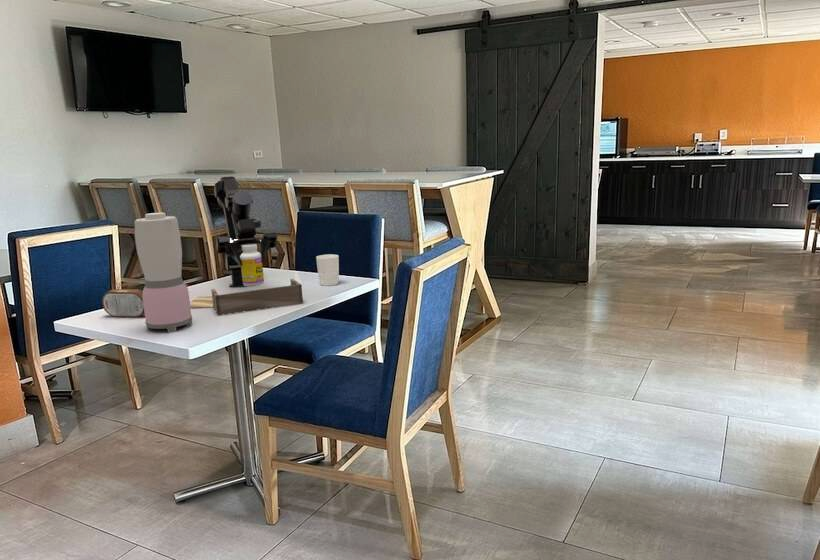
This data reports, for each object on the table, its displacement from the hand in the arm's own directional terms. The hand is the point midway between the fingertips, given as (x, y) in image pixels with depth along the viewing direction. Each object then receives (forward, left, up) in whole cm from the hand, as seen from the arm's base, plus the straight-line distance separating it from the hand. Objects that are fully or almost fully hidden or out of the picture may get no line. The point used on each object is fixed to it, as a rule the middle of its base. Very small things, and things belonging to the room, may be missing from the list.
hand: (252, 263), depth 196 cm
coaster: (-3, -15, -13) cm, 20 cm away
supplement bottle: (-1, 0, -7) cm, 7 cm away
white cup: (-25, +20, -13) cm, 34 cm away
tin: (+11, -36, -13) cm, 40 cm away
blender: (+23, -19, -13) cm, 33 cm away
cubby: (+3, +2, -13) cm, 13 cm away
